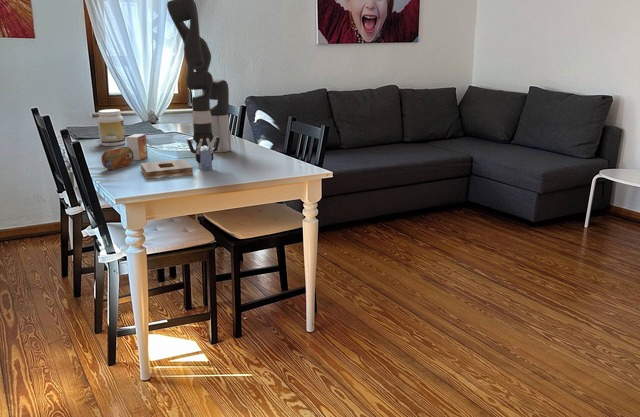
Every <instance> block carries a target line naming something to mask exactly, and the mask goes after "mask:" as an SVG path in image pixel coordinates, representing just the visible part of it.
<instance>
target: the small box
mask: <svg viewBox="0 0 640 417" xmlns="http://www.w3.org/2000/svg"><path fill="white" fill-rule="evenodd" d="M125 140H126V141H125V142H126V147H129V148H130V149H131V150H132V152H133V155H134V157H133V161H141V160H143V159H145V158H148V147H147V145H148V144H147V135H146V133H145V134H144V133H133V134H132V135H129V136H125Z"/></svg>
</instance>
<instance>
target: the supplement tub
mask: <svg viewBox="0 0 640 417" xmlns="http://www.w3.org/2000/svg"><path fill="white" fill-rule="evenodd" d="M121 114H122V113H121V110H120V109H119V108H118V109H117V108H116V109H115V108H113V109H112V108H111V109H109V108H108V109H102V110H98V117H97V126H98V132H99V134H98V135H99V141H100V144H101V145H102V146H105V147H117V146H121V145H124V144H126V142H127V141H126V133H125V125H124V124H125V123H124V117H123V116H122V115H121Z"/></svg>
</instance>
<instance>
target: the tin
mask: <svg viewBox="0 0 640 417" xmlns="http://www.w3.org/2000/svg"><path fill="white" fill-rule="evenodd" d="M133 157H134V155H133V152H132V150H131V149H130V148H129V147H127V146H119V147H115V148H112V149H106V150H105V151H104V152H103V153H102V155H101V163H102V166H103V168H104V169H107V170H111V171H114V169H115V170H118V169H121V168H122V169H123V168H126V167H130V165H131V164H132V163H133V161H134V160H133Z"/></svg>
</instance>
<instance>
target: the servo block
mask: <svg viewBox="0 0 640 417" xmlns="http://www.w3.org/2000/svg"><path fill="white" fill-rule="evenodd" d="M199 154H200V163H198V162H197V166H198V169H199V170H200V171H211V170H213V160H212V155H211V150H209V149H208V147H204V148H201V149H200V151H199Z"/></svg>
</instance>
